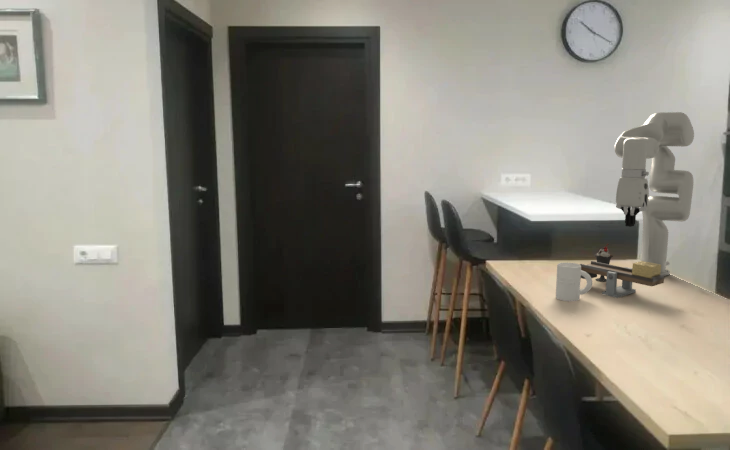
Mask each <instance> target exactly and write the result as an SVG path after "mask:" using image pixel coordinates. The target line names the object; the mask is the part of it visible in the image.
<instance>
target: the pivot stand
mask: <svg viewBox="0 0 730 450" xmlns="http://www.w3.org/2000/svg"><path fill="white" fill-rule="evenodd" d="M623 267H624V268H629V269H632V267H626V266H623ZM606 279H607V281H606V282H605V283H606V285H605V290H603V291H601V295H603V296H608V297H613V298H617V299H618V298H621V297H622V298H623V297H626V296H628V295H630V294H633V293H636V290H637V289H635V288H633V282H629V281H625V280H622V281H621V285H619V286H617V285H618V283H617V281H618V279H617V273H615V272H610V271H609V272H607V276H606Z"/></svg>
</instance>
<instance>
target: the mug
mask: <svg viewBox="0 0 730 450" xmlns="http://www.w3.org/2000/svg"><path fill="white" fill-rule="evenodd" d="M581 276H583V277H584V278H585V279H584V280H585V281H586V284H585V286H584V287H583V288H581V282H582V281H581V279H582V278H581ZM592 287H593V278H591V276H590V275H589V274H588V273H587V272H585V271H582V270H581V265H580V263H575V262H559V263H557V265H556V286H555V298H556V299H557V300H560V301H564V302H577V301H579V300H580V297H581V295H585V294H587V293H588V292H589V291H590V290H591V288H592Z"/></svg>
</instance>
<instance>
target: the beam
mask: <svg viewBox="0 0 730 450" xmlns="http://www.w3.org/2000/svg"><path fill="white" fill-rule="evenodd" d="M579 265H581V270H582V271H585V272H587V273H588V274H589V275H590V276H591V278H592V279H594V278H597V277H598V275H599V276H601V275H602V276H604V277H607V272H609V271H610V272H615V273H617V280H625V281H629V282H632V283H634V284H638V285H642V286H643V285H644V286H649V287H655V286H658V285H661V284H664V283H665V276H664V275H663V274H661V275H658V276H655V277H652V279H650V278H646V277H641V276H636V275H632V269H629V268H630V267H628V268H624V267H625V266H623V267H622V266H619V265H614V264H610V263H609V264H605V263H600V262H597V261H593V260H590V263H589V264H585V263H584V264H583V263H579ZM581 279H583V280H586V279H585V278H584V277H583V276H581Z"/></svg>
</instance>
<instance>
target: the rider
mask: <svg viewBox="0 0 730 450" xmlns="http://www.w3.org/2000/svg"><path fill="white" fill-rule="evenodd" d="M631 268H632V275H636V276H641V277H646V278H650V279H652V277H655V276H658V275H660V274H661V265H660V264H655V263H650V262H645V261H641V260H640V261H637V262H632V267H631Z"/></svg>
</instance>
